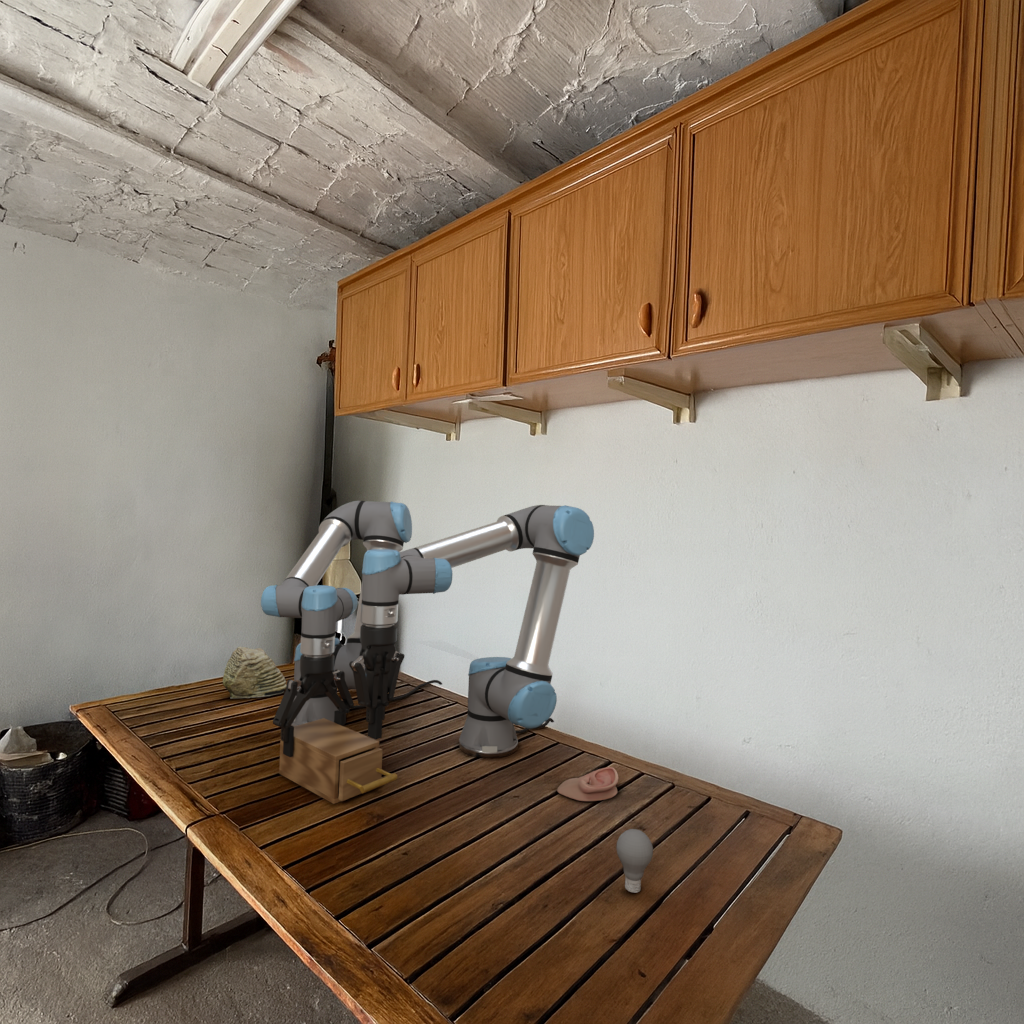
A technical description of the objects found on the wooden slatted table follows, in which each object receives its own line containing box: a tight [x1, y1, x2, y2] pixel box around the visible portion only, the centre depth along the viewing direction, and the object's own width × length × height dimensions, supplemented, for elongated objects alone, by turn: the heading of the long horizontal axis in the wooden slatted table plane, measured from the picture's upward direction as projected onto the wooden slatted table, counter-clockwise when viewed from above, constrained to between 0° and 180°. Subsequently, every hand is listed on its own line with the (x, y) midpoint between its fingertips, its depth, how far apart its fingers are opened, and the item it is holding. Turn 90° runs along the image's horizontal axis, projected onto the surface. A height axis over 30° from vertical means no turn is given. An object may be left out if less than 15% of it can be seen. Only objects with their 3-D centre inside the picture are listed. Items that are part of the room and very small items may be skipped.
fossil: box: [222, 646, 287, 699], centre depth 198 cm, size 9×18×15 cm, turn 132°
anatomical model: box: [556, 766, 619, 802], centre depth 142 cm, size 13×4×12 cm
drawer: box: [338, 747, 398, 802], centre depth 138 cm, size 25×10×8 cm, turn 51°
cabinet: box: [278, 718, 380, 805], centre depth 142 cm, size 21×12×10 cm, turn 51°
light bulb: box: [615, 828, 654, 894], centre depth 106 cm, size 6×6×10 cm
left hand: (313, 747), depth 145 cm, fingers open, 12 cm apart
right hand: (374, 736), depth 132 cm, fingers closed
